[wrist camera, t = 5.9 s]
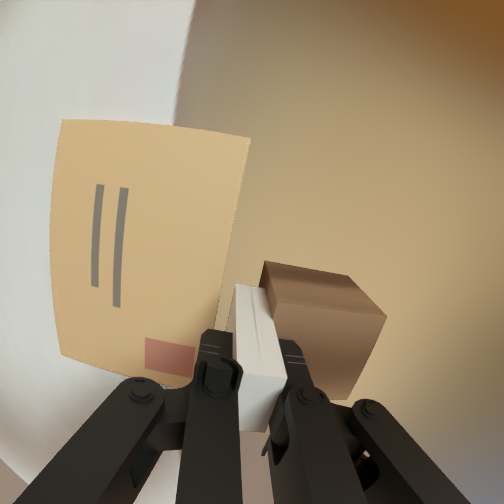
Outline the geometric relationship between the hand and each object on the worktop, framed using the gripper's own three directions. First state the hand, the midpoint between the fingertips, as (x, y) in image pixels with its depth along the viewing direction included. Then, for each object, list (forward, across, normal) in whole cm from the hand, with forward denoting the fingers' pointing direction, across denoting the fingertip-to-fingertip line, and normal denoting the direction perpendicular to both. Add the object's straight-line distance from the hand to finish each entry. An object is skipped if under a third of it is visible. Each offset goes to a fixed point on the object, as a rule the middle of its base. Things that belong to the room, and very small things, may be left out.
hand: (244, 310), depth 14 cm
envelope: (+2, -7, 0) cm, 7 cm away
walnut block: (+2, +3, 0) cm, 4 cm away
